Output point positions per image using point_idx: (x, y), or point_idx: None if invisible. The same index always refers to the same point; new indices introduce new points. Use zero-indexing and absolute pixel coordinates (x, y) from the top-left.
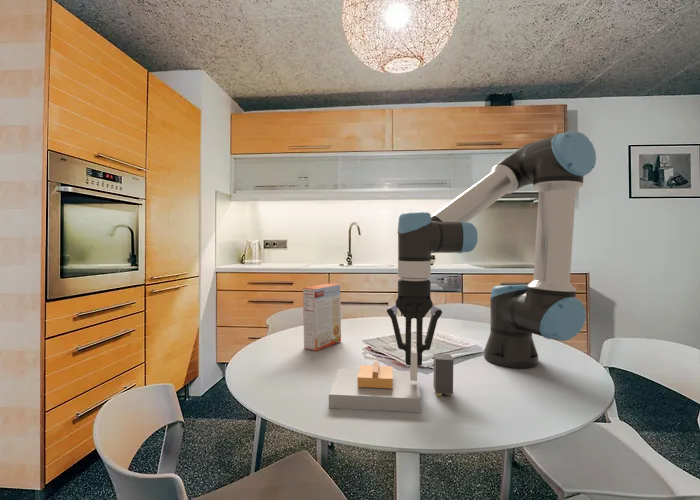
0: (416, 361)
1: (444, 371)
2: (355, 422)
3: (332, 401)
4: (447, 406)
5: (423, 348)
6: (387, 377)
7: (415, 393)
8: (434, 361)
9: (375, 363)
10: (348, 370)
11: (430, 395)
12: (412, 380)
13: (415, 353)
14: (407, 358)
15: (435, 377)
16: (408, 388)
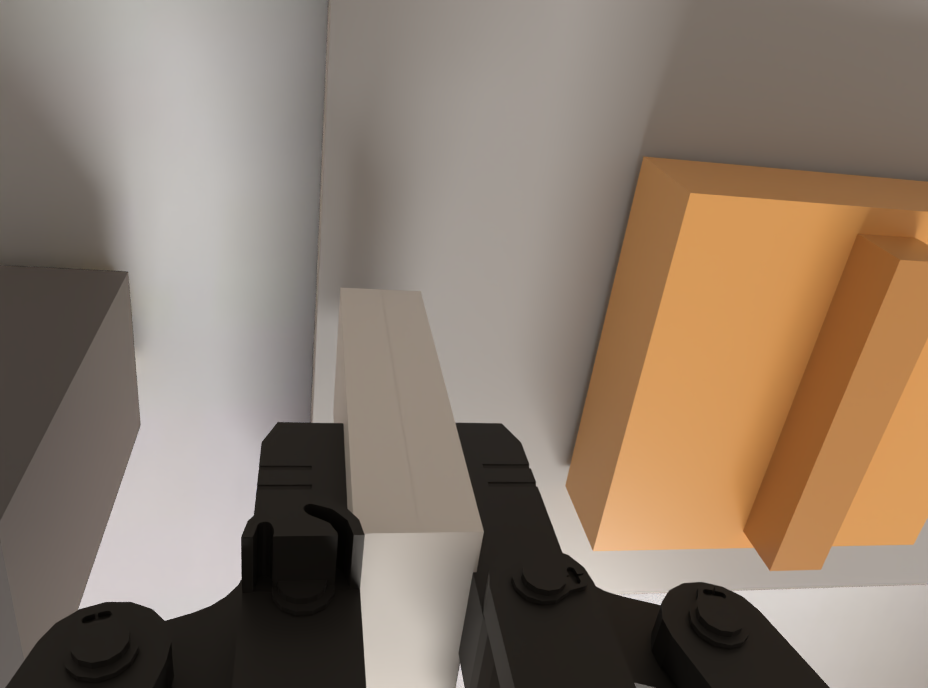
0: (361, 433)
1: None
2: None
3: None
4: (9, 37)
5: (209, 651)
6: (744, 232)
7: (389, 42)
8: (51, 586)
9: (824, 521)
10: (918, 554)
11: (188, 291)
12: (398, 290)
13: (391, 525)
14: (508, 488)
15: (87, 366)
16: (451, 191)
